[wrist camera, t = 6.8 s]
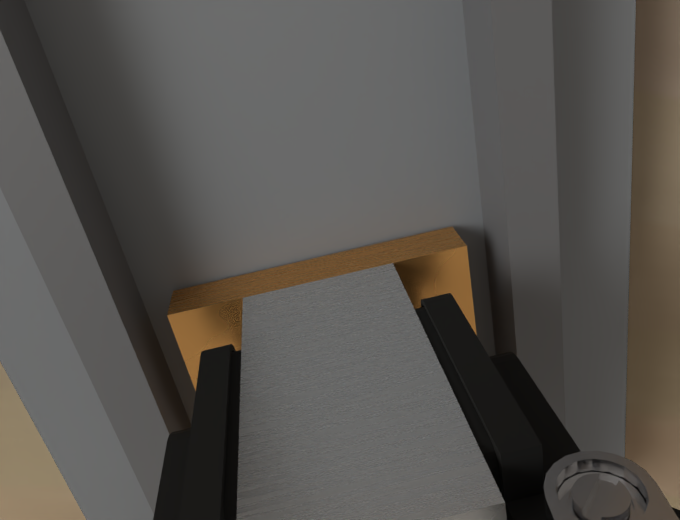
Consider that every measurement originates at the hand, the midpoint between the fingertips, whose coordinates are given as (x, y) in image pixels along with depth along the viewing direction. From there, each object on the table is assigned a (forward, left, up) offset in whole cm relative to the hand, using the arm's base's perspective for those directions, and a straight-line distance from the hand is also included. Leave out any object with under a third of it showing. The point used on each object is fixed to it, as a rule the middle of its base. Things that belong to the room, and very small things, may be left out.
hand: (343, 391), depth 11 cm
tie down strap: (-3, 0, -3) cm, 4 cm away
